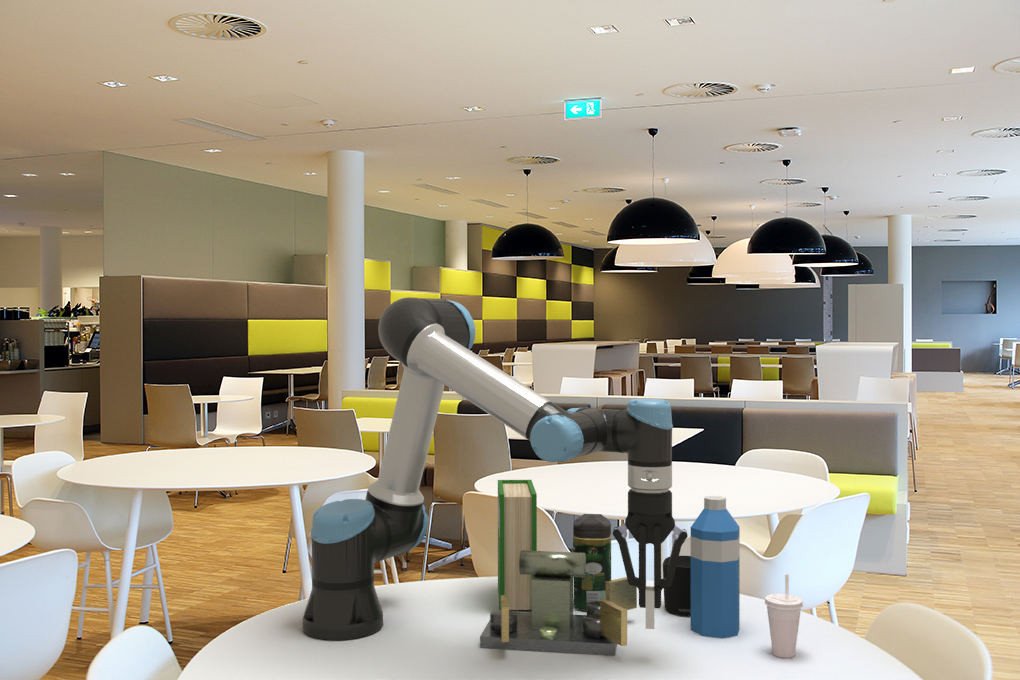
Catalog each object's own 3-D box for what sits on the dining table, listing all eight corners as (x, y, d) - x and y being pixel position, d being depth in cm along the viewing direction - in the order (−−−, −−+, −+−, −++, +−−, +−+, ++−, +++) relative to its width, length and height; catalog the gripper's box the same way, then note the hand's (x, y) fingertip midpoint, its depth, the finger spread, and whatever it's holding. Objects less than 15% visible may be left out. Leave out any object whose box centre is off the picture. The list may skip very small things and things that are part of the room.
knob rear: (598, 624, 162) (598, 589, 162) (581, 617, 166) (580, 583, 166) (643, 612, 169) (643, 579, 168) (625, 606, 173) (625, 573, 173)
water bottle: (749, 629, 166) (749, 497, 166) (724, 642, 159) (724, 504, 159) (706, 618, 172) (706, 491, 172) (680, 630, 165) (680, 498, 165)
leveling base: (480, 647, 156) (479, 561, 156) (495, 620, 171) (495, 541, 171) (615, 655, 152) (615, 567, 152) (618, 627, 167) (618, 546, 167)
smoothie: (797, 663, 149) (797, 581, 149) (760, 656, 152) (760, 575, 152) (806, 651, 154) (807, 572, 154) (770, 645, 157) (770, 567, 157)
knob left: (489, 623, 163) (489, 588, 163) (516, 622, 163) (516, 587, 163) (490, 645, 151) (490, 607, 151) (519, 644, 151) (519, 607, 151)
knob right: (577, 630, 159) (577, 594, 159) (601, 626, 161) (601, 591, 161) (611, 651, 148) (611, 612, 148) (636, 646, 150) (636, 608, 150)
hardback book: (536, 613, 175) (536, 494, 175) (499, 614, 175) (499, 494, 175) (531, 588, 193) (531, 479, 193) (497, 588, 193) (497, 479, 193)
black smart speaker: (653, 610, 178) (653, 560, 178) (681, 600, 184) (681, 553, 184) (691, 621, 171) (691, 570, 171) (719, 611, 177) (719, 561, 177)
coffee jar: (574, 598, 186) (573, 510, 186) (611, 599, 185) (611, 511, 185) (571, 612, 176) (571, 520, 176) (611, 613, 175) (611, 521, 175)
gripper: (610, 491, 148) (610, 631, 148) (689, 494, 146) (689, 635, 146) (612, 484, 155) (612, 617, 155) (687, 486, 153) (687, 621, 153)
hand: (650, 626), depth 150 cm, fingers closed
